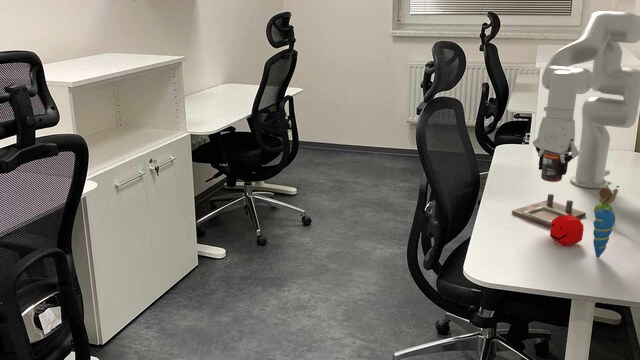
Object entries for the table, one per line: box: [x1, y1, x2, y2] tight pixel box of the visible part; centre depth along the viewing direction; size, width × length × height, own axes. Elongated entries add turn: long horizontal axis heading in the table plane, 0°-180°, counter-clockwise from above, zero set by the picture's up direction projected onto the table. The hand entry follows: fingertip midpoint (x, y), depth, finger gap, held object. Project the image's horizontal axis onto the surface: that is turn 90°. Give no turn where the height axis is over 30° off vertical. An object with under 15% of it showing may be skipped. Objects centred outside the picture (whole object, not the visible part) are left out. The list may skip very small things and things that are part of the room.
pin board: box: [511, 193, 587, 229], centre depth 194 cm, size 18×14×5 cm
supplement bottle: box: [540, 150, 565, 183], centre depth 185 cm, size 6×6×11 cm
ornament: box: [592, 207, 616, 259], centre depth 163 cm, size 5×5×15 cm
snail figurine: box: [593, 185, 620, 215], centre depth 190 cm, size 5×6×12 cm
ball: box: [549, 214, 585, 247], centre depth 173 cm, size 8×8×8 cm
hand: (552, 171), depth 186 cm, fingers closed on supplement bottle, 6 cm apart
